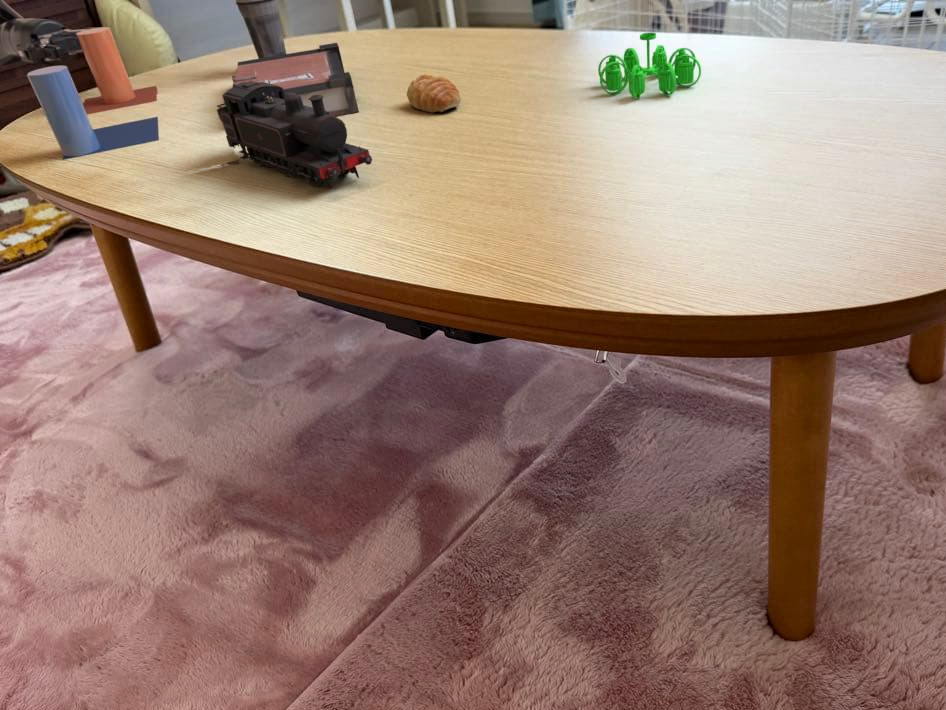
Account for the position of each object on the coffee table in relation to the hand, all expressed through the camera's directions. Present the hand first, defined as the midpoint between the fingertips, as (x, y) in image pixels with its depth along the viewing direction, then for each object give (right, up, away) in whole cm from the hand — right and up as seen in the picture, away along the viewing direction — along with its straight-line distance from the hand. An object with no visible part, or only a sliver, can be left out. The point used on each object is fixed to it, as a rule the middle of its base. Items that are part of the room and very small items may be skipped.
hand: (85, 47), depth 136 cm
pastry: (+62, -17, -17) cm, 66 cm away
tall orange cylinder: (+5, -8, +2) cm, 10 cm away
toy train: (+47, -31, -35) cm, 66 cm away
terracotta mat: (+5, -9, +3) cm, 10 cm away
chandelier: (+92, -15, -20) cm, 96 cm away
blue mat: (+13, -21, -16) cm, 30 cm away
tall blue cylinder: (+11, -24, -21) cm, 34 cm away
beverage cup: (+28, +1, +13) cm, 31 cm away
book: (+38, -12, -7) cm, 41 cm away
